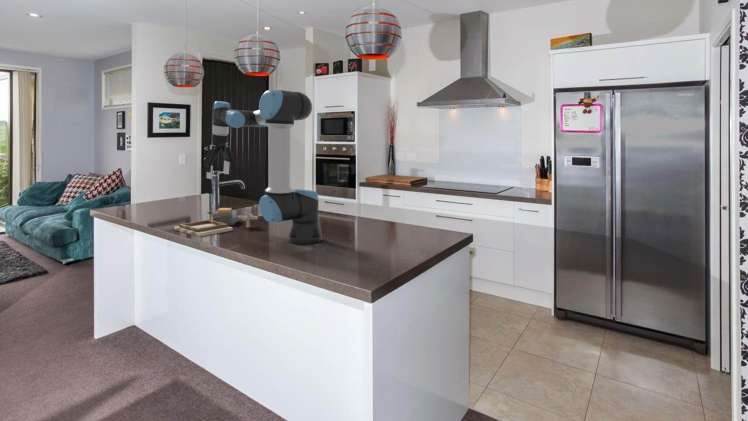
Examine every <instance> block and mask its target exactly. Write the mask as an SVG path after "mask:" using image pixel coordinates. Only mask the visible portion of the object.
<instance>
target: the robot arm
mask: <svg viewBox="0 0 748 421" xmlns="http://www.w3.org/2000/svg"><path fill="white" fill-rule="evenodd" d="M312 104H313V103H312V101H311V99H310V98H309V96H308V95H306V94H305V93H303V92H301V91H291V90H282V89H269V90H265V92H264V93H263V94H262V95H261V97H260V99H259V103H258V110H242V109H241V110H240V109H239V110H238V109H232V108H231V103H229V102H227V101H222V100H221V101H219V100H216V101H214V103H213V109H212V131H211V132H212V134H211V141H212V143H213V144H208V149H207V153H206V155H205V158H204V161H203V165H204V166H206V177H205V178H206V179H208V180H209V179H210V180H212V179H213V171H214V170H213V168H214V166H213V164H214V162H215V159H216V158H217V156H218V155H220V154H221V155H222V156H223V158H224V161H223V172H222V173H223V174H225V175H229V174H230V164H231V163H232V162H233V159H234V157H233V153H232V150H231V143H230V142H229V134H230V133H229V130H230V127H231V128H235V129H239V128H241V127H246V128H247V127H253V128H255V127H257V128H266V127H267V128H268V186H267V188H265V189H264V195H263V196H261V197H260V199H259V201H258V202H259V203H258V204H259V212H260V214H261V216H262V217H263V219H264V220H265V221H266V222H268V223H271V224H273V223H274V224H275V223H281V222H287V221H288V222H289V221H292V222H291V227H290V230H289V233H288V242H289V243H291V244H297V245H312V244H311V243H313V244H317V243H316V242H318V243H321V242H322V241H323V234H322V233H323V232H322V230H321V228H320V225H319V201H320V200H319V194H318V192H317V191H315V190H309V189H301V188H300V189H299V188H292V187H291V182H290V181H291V180H290V179H291V129H292V128H293V126H295V121H296V122H297V121H303V120H306V119H307V118H308V117H310V115H311V114H312V111H313V105H312ZM321 240H322V241H321ZM320 241H321V242H320Z"/></svg>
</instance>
